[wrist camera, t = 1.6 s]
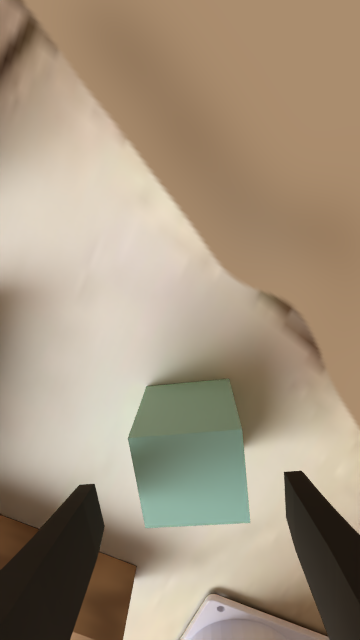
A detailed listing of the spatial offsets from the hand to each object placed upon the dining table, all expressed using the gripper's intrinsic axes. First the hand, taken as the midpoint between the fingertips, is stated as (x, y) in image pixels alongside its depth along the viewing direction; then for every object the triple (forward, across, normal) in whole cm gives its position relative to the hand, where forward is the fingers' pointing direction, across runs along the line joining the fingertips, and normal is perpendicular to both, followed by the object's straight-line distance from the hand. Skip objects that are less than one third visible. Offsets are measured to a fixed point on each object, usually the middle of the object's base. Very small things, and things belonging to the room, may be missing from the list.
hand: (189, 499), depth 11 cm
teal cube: (+6, 0, 0) cm, 6 cm away
